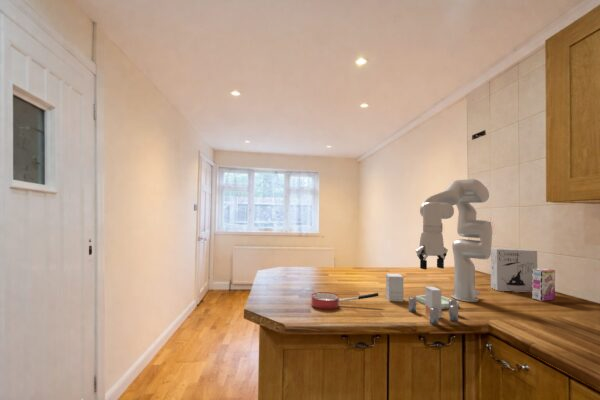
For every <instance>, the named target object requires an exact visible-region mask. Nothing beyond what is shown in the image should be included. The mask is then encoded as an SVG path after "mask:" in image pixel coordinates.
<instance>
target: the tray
mask: <svg viewBox="0 0 600 400" xmlns="http://www.w3.org/2000/svg"><path fill="white" fill-rule="evenodd" d="M415 298H416V303H417V302H418V303H420V304H422V305H424V306H425V294H420V295H415ZM449 299H450V298H449V297H446V296H443V295H441V310H449ZM456 301H457V306H458V308H460V301H459V300H456Z"/></svg>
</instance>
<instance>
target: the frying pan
mask: <svg viewBox="0 0 600 400" xmlns="http://www.w3.org/2000/svg"><path fill="white" fill-rule="evenodd" d="M375 297H379V293H378V292H374V293H369V294H364V295H363V294H362V295H358V296H355V297H353V296H352V297H347V298H343V299H342V298H340V296H339V295H337V294H336V293H332V292H326V291H322V292H321V291H319V292H318V291H317V292H314V293H312V294H311V300H310V301H311V305H312V307H314V308H316V309H318V310H323V311H324V310H325V311H327V310H329V311H330V310H335V309H338V307H339V305H340V304H339V303H342V302H348V301H353V300H361V299H362V300H363V299H370V298H375Z"/></svg>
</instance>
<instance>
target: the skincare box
mask: <svg viewBox="0 0 600 400" xmlns="http://www.w3.org/2000/svg"><path fill="white" fill-rule="evenodd" d="M424 289H425V290H424V292H425V294H424V295H425V305H424V306H425V308H424V312H425V315H428V316H429V317H430V308H431V307H434V308H437V309H438V319H442V309H441V296H442V290H441V289H439V288H437V287H435V286H425V288H424Z"/></svg>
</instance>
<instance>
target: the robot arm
mask: <svg viewBox="0 0 600 400" xmlns="http://www.w3.org/2000/svg"><path fill="white" fill-rule="evenodd" d="M489 198H490V192H489V189H488V188H487V186H485V185H484V184H483V183H482V182H481V181H480V180H478V179H475V178H471V179H457V180H453V181H452V182H451V183H450V184H448V186H447V187H446V188H445V189H444V190H443V191H441V192H438V193H436V194H433V195H431V196H429V197H428V198H426V199H425V200H424V201H423V202H422V203H421V205H420V208H419V214H420V216H421V217H422V232H421V235H420V238H419V239H420V240H419V247H418V248H416V249H415V253H416V256H417V257H418V259H419V260H420V261H419V268H420V269H421V270H425V271H426V270H427V268H428V261H427V260H426V259H427V258H428V257H430V256H431V257H437V258H436V267H437V269H443V270H444V267H445V259H446V257H447V253H448V251H449V249H448V248H446V247H444V246H445V245H444V237H443V232H442V230H443V228H442V225H443V224H442V222H443V221H442V220H447V219H451V218H452V217H453V216H454V214H455V208H454V206H456V208H457V211H458V214H457V215H458V217H457V226H456V229H457V230H456V231H457V235H458V236H459V237H463V238H459V239H455V240H454V241H453V242H452V246H451V247H452V253H453V261H454V263H453V264H454V266H453V270H454V272H453V273H454V275H453V277H454V278H453V281H454V284H453V285H454V288H453V289H454V292H453V293H451V294H450V297H451V299H453V300H456V301H459V302H460V301H462V302H465V303H477V302H479V297H477V295H481V290H476V266H475V264H474V262H473V261H472V260H471V259H475V260H476V259H478V260H488V259H490V258H491V248H492V241H493V227H492V225H491V222H489V221H487V220H481V219H478V220H477V214H478V212H477V210H476V209H475V207H474V206H473V205H472V204H478V203H479V204H480V203H481V204H482V203H485V202H487V201H488V200H489ZM464 238H465V239H464ZM466 238H473V239H466ZM476 239H480V240H476Z"/></svg>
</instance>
